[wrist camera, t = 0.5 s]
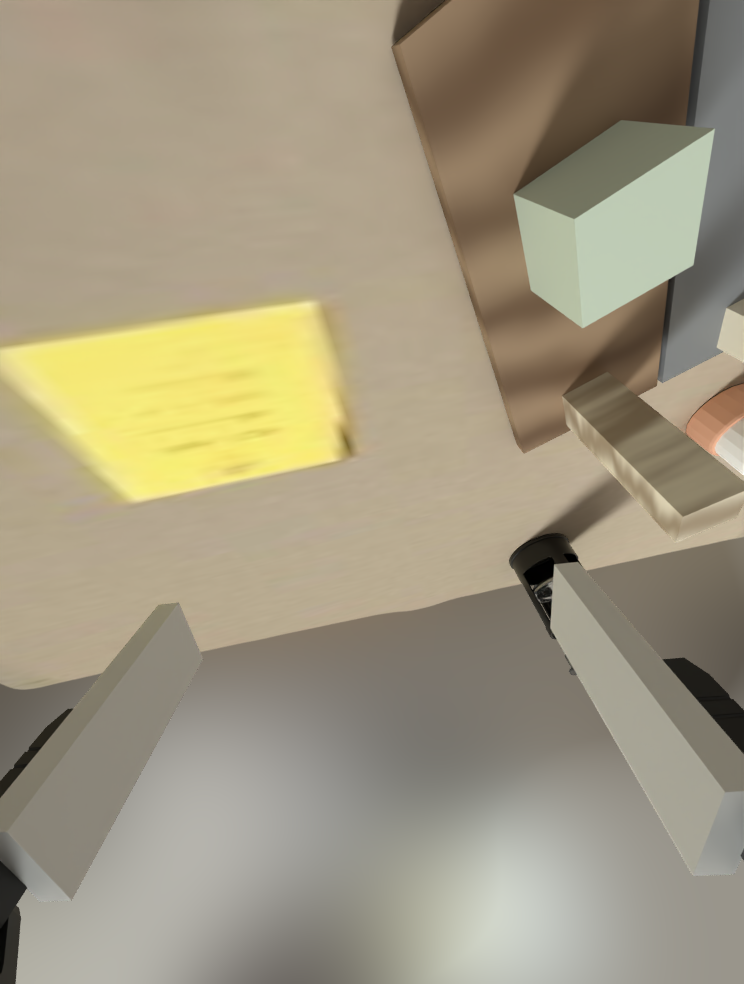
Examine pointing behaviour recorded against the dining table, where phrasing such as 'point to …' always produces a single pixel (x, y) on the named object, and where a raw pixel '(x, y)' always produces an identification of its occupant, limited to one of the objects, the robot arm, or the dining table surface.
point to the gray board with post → (713, 202)
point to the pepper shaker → (721, 426)
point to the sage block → (615, 217)
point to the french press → (542, 571)
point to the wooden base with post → (496, 234)
